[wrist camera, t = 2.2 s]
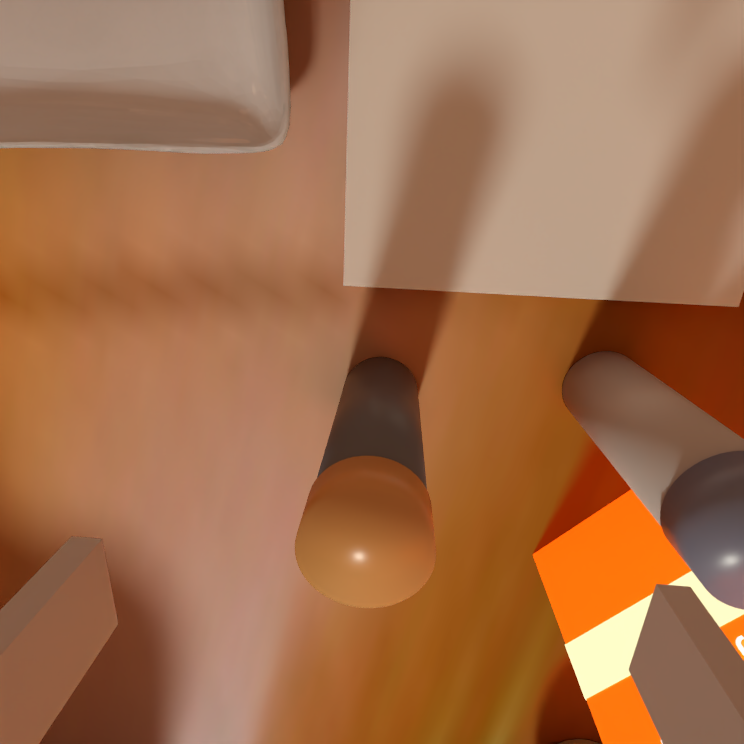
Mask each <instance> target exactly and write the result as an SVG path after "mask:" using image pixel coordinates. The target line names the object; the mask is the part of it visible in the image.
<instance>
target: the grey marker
mask: <svg viewBox="0 0 744 744" xmlns="http://www.w3.org/2000/svg"><path fill="white" fill-rule="evenodd" d="M562 397H563V400H564V403H565V405H566V407H567V408H568V410H569V411H570V412H571V413H572V415H573V416H574V417H575V418H576V420H577V421H578V422H579V424H580V425H581V426H582V427H583V429H584V430H585V431H586V432H587V434H588V435H589V436H590V437H591V439H592V440H593V441H594V442H595V444H596V445H597V446H598V448H599V449H600V450H601V451H602V453H603V454H604V455H605V456H606V458H607V459H608V460H609V461H610V463H611V464H612V465H613V466H614V468H615V469H616V470H617V472H618V473H619V474H620V475H621V477H622V478H623V479H624V480H625V482H626V483H627V484H628V485H629V487H630V488H631V489H632V490H633V492H634V493H635V494H636V496H637V497H638V498H639V499H640V501H641V502H642V503H643V504H644V506H645V507H646V508H647V509H648V511H649V512H650V513H651V514H652V516H653V517H654V518H655V520H656V521H657V522H658V523H659V525H660V526H661V527H662V530H663V533H664V535H665V537H666V538H667V540H668V541H669V542H670V544H671V545H672V546H673V548H674V549H675V550H676V551H677V553H678V554H679V555H680V557H681V558H682V559H683V560H684V562H685V563H686V564H687V566H688V567H689V568H690V569H691V571H692V572H693V573H694V575H695V576H696V577H697V578H698V580H699V581H700V582H701V583H702V585H703V586H704V587H705V589H706V590H707V591H708V592H709V593H710V594H711V595H712V596H713V597H714V598H716V599H717V600H719V601H720V602H722V603H724V604H726V605H729V606H732V607H734V608H738V609H742V610H744V439H743V438H741V437H740V436H738V435H737V434H736V433H734V432H733V431H731V430H730V429H729V428H727V427H726V426H724V425H723V424H721V423H720V422H719V421H717V420H716V419H714V418H713V417H712V416H710V415H709V414H707V413H706V412H704V411H703V410H702V409H700V408H699V407H697V406H696V405H695V404H693V403H692V402H690V401H689V400H687V399H686V398H685V397H683V396H682V395H680V394H679V393H678V392H676V391H675V390H673V389H672V388H670V387H669V386H668V385H666V384H665V383H663V382H662V381H661V380H659V379H658V378H656V377H655V376H653V375H652V374H651V373H649V372H648V371H646V370H645V369H644V368H642V367H641V366H639V365H638V364H636V363H635V362H634V361H632V360H631V359H629V358H628V357H626V356H625V355H623V354H620V353H617V352H612V351H601V352H596V353H592V354H589V355H587V356H585V357H583V358H582V359H580V360H579V361H577V362H576V363H575V364H574V365H573V366H572V367H571V368H570V370H569V371H568V373H567V374H566V376H565V379H564V381H563V385H562Z"/></svg>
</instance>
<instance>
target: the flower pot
mask: <svg viewBox="0 0 744 744" xmlns="http://www.w3.org/2000/svg"><path fill="white" fill-rule="evenodd" d="M558 744H599V743H597V742H594V741H590V740H584V739H574V740H567V741H563V742H560V743H558Z"/></svg>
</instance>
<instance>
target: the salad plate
mask: <svg viewBox="0 0 744 744" xmlns="http://www.w3.org/2000/svg"><path fill="white" fill-rule="evenodd" d="M290 109H291V102H290V75H289V57H288V42H287V31H286V23H285V12H284V0H0V148H98V149H125V150H144V151H162V152H179V153H202V154H218V153H256V152H264V151H269V150H272V149H274V148H276V147H278V146H279V145H281V144H282V143H283V141H284V140H285V138H286V135H287V132H288V129H289V125H290Z"/></svg>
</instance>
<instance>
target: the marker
mask: <svg viewBox="0 0 744 744" xmlns="http://www.w3.org/2000/svg"><path fill="white" fill-rule="evenodd" d="M295 555H296V560H297V563H298V566H299V568H300V570H301V572H302V574H303V575H304V577H305V578H306V580H307V581H308V582H309V583H310V584H311V585H312V586H313V587H314V588H315V589H316V590H317V591H319V592H320V593H321V594H323V595H324V596H326V597H328V598H329V599H332V600H334V601H336V602H338V603H341V604H344V605H348V606H352V607H359V608H380V607H385V606H390V605H393V604H397V603H399V602H401V601H404V600H406V599H407V598H409V597H411V596H412V595H414V594H415V593H416V592H418V591H419V590H420V589H421V588H422V587H423V586H424V584H425V583H426V582H427V581H428V579H429V577H430V575H431V574H432V571H433V569H434V566H435V560H436V546H435V536H434V526H433V516H432V507H431V500H430V497H429V494H428V491H427V487H426V476H425V465H424V454H423V443H422V432H421V421H420V411H419V400H418V389H417V384H416V380H415V378H414V376H413V374H412V373H411V372H410V370H409V369H408V368H407V367H406V366H404V365H403V364H402V363H400V362H398V361H396V360H393V359H390V358H385V357H376V358H370V359H367V360H365V361H363V362H361V363H359V364H358V365H356V366H355V367H354V368H353V369H352V370H351V372H350V373H349V375H348V376H347V379H346V381H345V385H344V388H343V391H342V395H341V398H340V402H339V405H338V408H337V412H336V415H335V419H334V422H333V426H332V429H331V432H330V436H329V439H328V443H327V446H326V449H325V453H324V456H323V460H322V463H321V466H320V470H319V473H318V477H317V479H316V480H315V482H314V484H313V485H312V488H311V490H310V493H309V496H308V499H307V503H306V506H305V509H304V512H303V516H302V519H301V522H300V525H299V529H298V532H297V536H296V540H295Z"/></svg>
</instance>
